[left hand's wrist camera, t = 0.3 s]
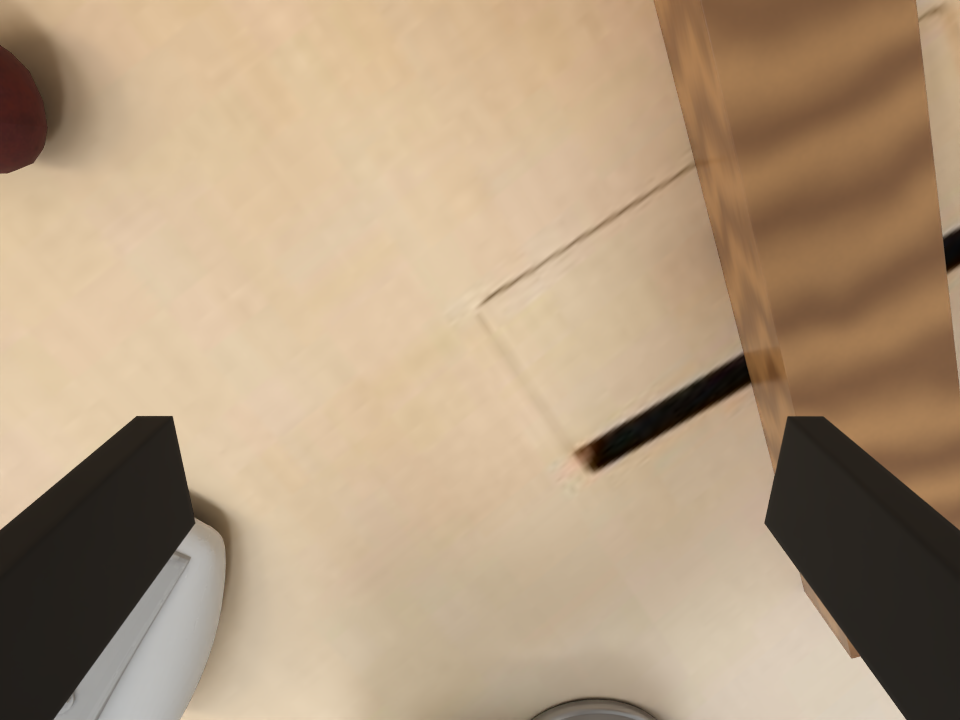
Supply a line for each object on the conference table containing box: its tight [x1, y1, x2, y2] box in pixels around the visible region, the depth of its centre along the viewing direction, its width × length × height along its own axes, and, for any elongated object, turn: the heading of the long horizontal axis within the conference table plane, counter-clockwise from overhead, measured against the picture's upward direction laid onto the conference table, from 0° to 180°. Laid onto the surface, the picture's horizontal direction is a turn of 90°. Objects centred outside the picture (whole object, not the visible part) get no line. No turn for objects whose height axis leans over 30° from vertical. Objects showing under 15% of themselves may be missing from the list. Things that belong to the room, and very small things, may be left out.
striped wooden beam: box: [654, 0, 960, 658], centre depth 34 cm, size 66×9×7 cm, turn 22°
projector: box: [54, 518, 226, 720], centre depth 42 cm, size 22×23×15 cm
